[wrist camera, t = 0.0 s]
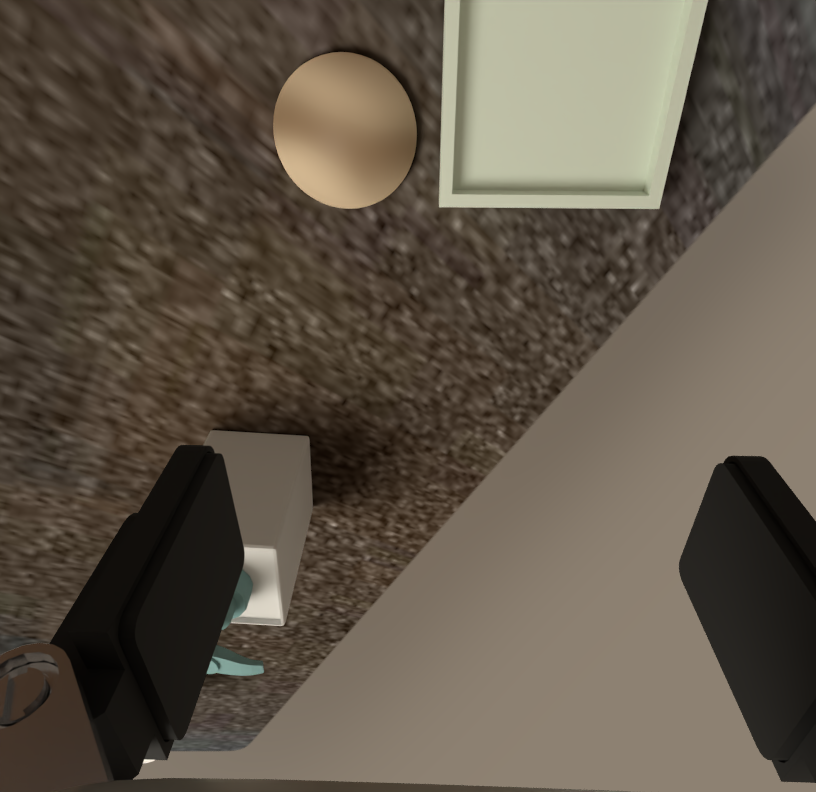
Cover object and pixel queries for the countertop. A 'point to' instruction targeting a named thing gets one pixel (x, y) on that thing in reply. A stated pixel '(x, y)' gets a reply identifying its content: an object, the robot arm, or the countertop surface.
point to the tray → (563, 100)
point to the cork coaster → (345, 130)
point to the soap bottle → (264, 529)
